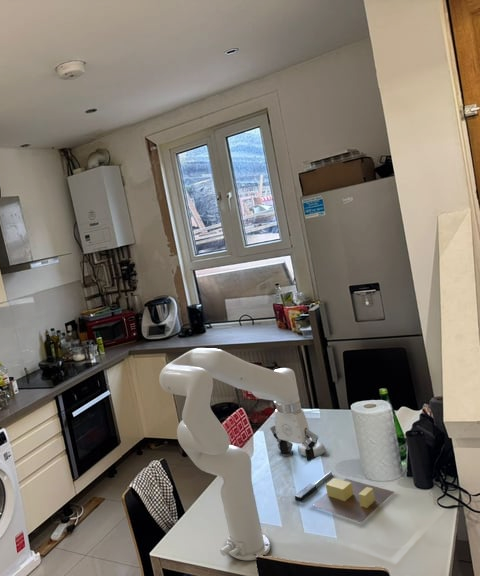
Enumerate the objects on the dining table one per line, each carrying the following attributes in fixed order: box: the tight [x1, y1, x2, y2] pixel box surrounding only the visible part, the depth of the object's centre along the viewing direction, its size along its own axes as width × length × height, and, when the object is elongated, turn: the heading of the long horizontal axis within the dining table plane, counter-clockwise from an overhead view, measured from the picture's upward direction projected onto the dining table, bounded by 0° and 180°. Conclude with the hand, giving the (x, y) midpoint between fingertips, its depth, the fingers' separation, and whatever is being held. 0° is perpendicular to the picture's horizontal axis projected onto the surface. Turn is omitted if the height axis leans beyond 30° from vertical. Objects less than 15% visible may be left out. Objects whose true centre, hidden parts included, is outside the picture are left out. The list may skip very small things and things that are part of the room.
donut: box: [297, 439, 326, 458], centre depth 198 cm, size 10×4×10 cm
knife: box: [294, 470, 333, 503], centre depth 172 cm, size 20×2×3 cm, turn 124°
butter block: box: [325, 477, 353, 501], centre depth 164 cm, size 5×6×4 cm
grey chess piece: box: [276, 441, 294, 457], centre depth 201 cm, size 6×6×12 cm
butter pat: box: [359, 487, 375, 508], centre depth 157 cm, size 5×2×4 cm, turn 124°
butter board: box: [311, 478, 394, 523], centre depth 161 cm, size 20×16×1 cm
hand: (297, 456), depth 167 cm, fingers open, 9 cm apart
